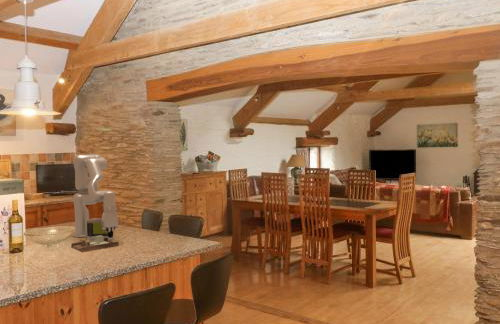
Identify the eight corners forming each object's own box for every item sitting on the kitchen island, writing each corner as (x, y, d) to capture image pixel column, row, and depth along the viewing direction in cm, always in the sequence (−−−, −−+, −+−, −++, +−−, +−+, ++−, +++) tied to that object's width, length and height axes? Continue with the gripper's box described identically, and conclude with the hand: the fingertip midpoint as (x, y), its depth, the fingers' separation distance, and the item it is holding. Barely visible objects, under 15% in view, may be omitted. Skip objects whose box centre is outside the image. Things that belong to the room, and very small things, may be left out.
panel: (85, 243, 300) (85, 236, 299) (100, 241, 306) (99, 233, 306) (94, 247, 289) (94, 239, 289) (109, 244, 296) (109, 236, 296)
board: (71, 247, 295) (71, 239, 295) (106, 241, 311) (106, 234, 311) (82, 252, 282) (82, 243, 282) (118, 245, 298) (118, 237, 298)
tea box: (113, 238, 322) (113, 217, 321) (108, 241, 312) (107, 220, 311) (92, 238, 323) (92, 217, 322) (86, 241, 313) (86, 220, 312)
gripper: (117, 208, 311) (118, 235, 311) (96, 210, 301) (97, 238, 301) (122, 209, 305) (123, 236, 306) (101, 211, 295) (102, 239, 296)
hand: (110, 237), depth 303 cm, fingers closed
